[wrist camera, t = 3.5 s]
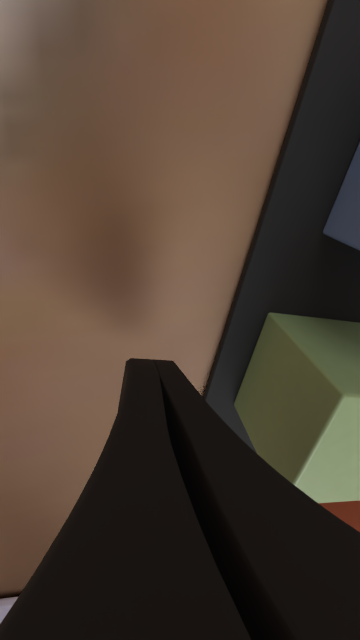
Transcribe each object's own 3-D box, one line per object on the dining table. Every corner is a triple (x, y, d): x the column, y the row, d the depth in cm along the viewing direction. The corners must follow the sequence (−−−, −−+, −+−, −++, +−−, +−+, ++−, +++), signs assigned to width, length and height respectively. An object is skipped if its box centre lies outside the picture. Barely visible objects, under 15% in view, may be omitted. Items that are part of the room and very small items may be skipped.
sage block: (321, 406, 14) (395, 499, 11) (232, 404, 13) (281, 507, 9) (367, 322, 12) (475, 399, 9) (267, 310, 11) (344, 395, 8)
